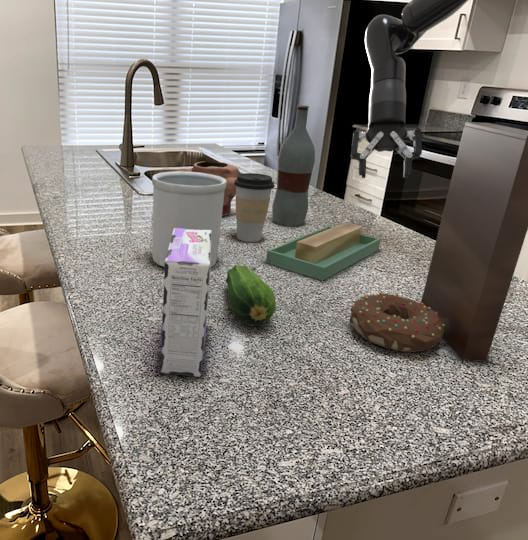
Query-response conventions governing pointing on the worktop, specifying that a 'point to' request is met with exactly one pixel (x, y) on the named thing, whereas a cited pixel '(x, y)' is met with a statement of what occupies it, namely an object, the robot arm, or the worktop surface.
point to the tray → (325, 268)
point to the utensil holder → (186, 208)
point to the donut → (396, 322)
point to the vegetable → (249, 296)
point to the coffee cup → (252, 204)
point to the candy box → (185, 301)
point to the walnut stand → (479, 236)
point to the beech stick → (328, 243)
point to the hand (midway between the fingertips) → (384, 177)
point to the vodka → (294, 174)
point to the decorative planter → (223, 171)
